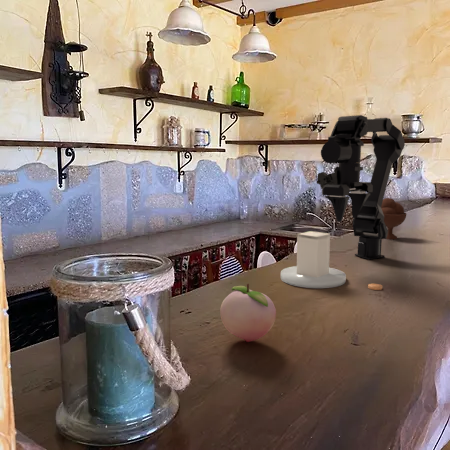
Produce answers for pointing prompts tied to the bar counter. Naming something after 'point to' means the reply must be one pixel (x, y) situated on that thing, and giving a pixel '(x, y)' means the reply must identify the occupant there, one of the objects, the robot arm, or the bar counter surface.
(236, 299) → the decorative fruit
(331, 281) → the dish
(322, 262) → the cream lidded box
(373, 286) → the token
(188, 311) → the bar counter surface
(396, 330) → the bar counter surface
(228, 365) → the bar counter surface
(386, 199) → the ice cream bowl
